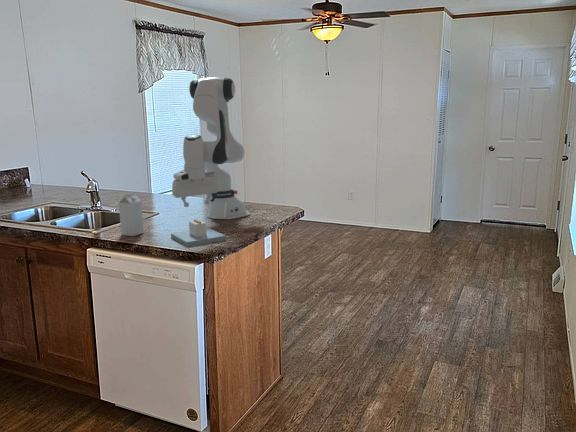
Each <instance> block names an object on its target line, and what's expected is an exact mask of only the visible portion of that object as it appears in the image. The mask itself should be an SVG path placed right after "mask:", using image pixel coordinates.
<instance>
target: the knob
mask: <svg viewBox="0 0 576 432" xmlns="http://www.w3.org/2000/svg"><path fill="white" fill-rule="evenodd" d="M188 226H189V227H188V228H189V230H188V231H190V234H191V235H193V236H195V237H199V236H206V235H207V231H206V228H207V223H206V222H205V221H202V220H199V219H196V218H194V219H193V220H191V221H188Z"/></svg>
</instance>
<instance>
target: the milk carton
mask: <svg viewBox="0 0 576 432" xmlns="http://www.w3.org/2000/svg"><path fill="white" fill-rule="evenodd" d="M142 206H143V205H142V200H141V199H140V198H139V197H138V196H137V195H136V194H135V191H134V192H133V191H132V192H129V193H125V194H123V198H122V199H120V201H119V202H118V210H119V211H118V212H119V223H120V234H121V236H126V237H127V236H129V237H135V236H138V235H141V234H143V233H145V232H144V220H143V207H142Z"/></svg>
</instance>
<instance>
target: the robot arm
mask: <svg viewBox="0 0 576 432" xmlns="http://www.w3.org/2000/svg"><path fill="white" fill-rule="evenodd" d="M188 87H189V94H190V98H192V99H193V100H192V110H193V112H194V113H193V114H194V115H195V116H196V117H197V118H198V119H200V121H203V122H206V129H207V131H208V133H210V134H212V136H213V135H214V136H216V140H214V141H213V140H211V141H207V140H206V141H204V139H203V136H202V135H200V134H189V135H186V136H184V138H183V144H182V145H183V146H182V147H183V149H182V150H183V151H182V155H183V159H184V165H183V169H182V170H180V171H178V172H175V173H174V174H173V175H172V176H173V181H172V186H171V187H172V189H171V190H172V191H171V193H172V196H173V197H174V198H176V199H178V198H180V200H181V201H182V202H183V206H184V207H185V208H188V207H189V205H190V204H189V202H188V201H186V199H187V198H188V197H195V196H202V195H205V196H206V198H205V199H203V201H204V205H208V204H209V209H208V214H207V217H208V218H209V219H213V220H233V219H238V218H239V219H240V218H243V217H247V216H251V212H249V211H248V210H247V209H246V204H245V203H244V202H243V201H242V200H240V199H239V198H237V196H235V195H238V193H239V191H238V190H236V189H232V184H231V183H232V181H231V174H230V173H229V172H228V171H226V170H224V169H222V168H220V167H219V165H223V164H235V163H239V162H242V160H243V159H244V156H245V150H244V146H243V144H241V143H240V142H239V141H238V140H237V139H235V137H234V136H233V134H232V132H231V129H230V119H229V107H228V105H229V104H228V103H229V101H231V100H232V99H234V97H235V94H236V86H235V82H234V80H233V79H232V78H229V77H214V76H211V77H203V78H199V77H198V78H195V79H192V80H191V82H190V84H189V86H188Z"/></svg>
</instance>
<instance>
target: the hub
mask: <svg viewBox="0 0 576 432" xmlns="http://www.w3.org/2000/svg"><path fill="white" fill-rule="evenodd" d="M206 231H207V235H206V236H199V237H195V236H193V235H191V234H190V231H189V230H185V231H179V232H172V233H170V238H171V239H172V240H174V241H176V242H177V243H179V244H181V245H183V246H185V247H186V248H189V247H194V246H199V245H200V246H201V245H205V244H206V243H207V244H211V243H212V242H213V243H217V242H224V241H227V236H226V234H223V233H220V232H218V231H217V230H215V229H211V228H210V227H206ZM213 243H212V244H213ZM207 244H206V245H207Z"/></svg>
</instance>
